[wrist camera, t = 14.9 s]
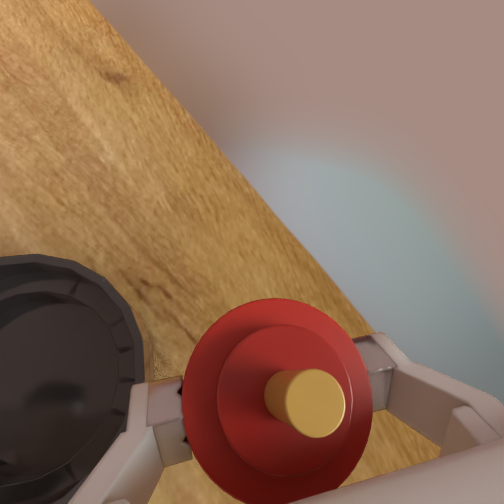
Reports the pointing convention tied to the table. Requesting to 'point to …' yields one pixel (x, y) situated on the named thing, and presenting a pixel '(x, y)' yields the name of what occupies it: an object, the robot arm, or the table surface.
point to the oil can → (276, 402)
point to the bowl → (62, 374)
